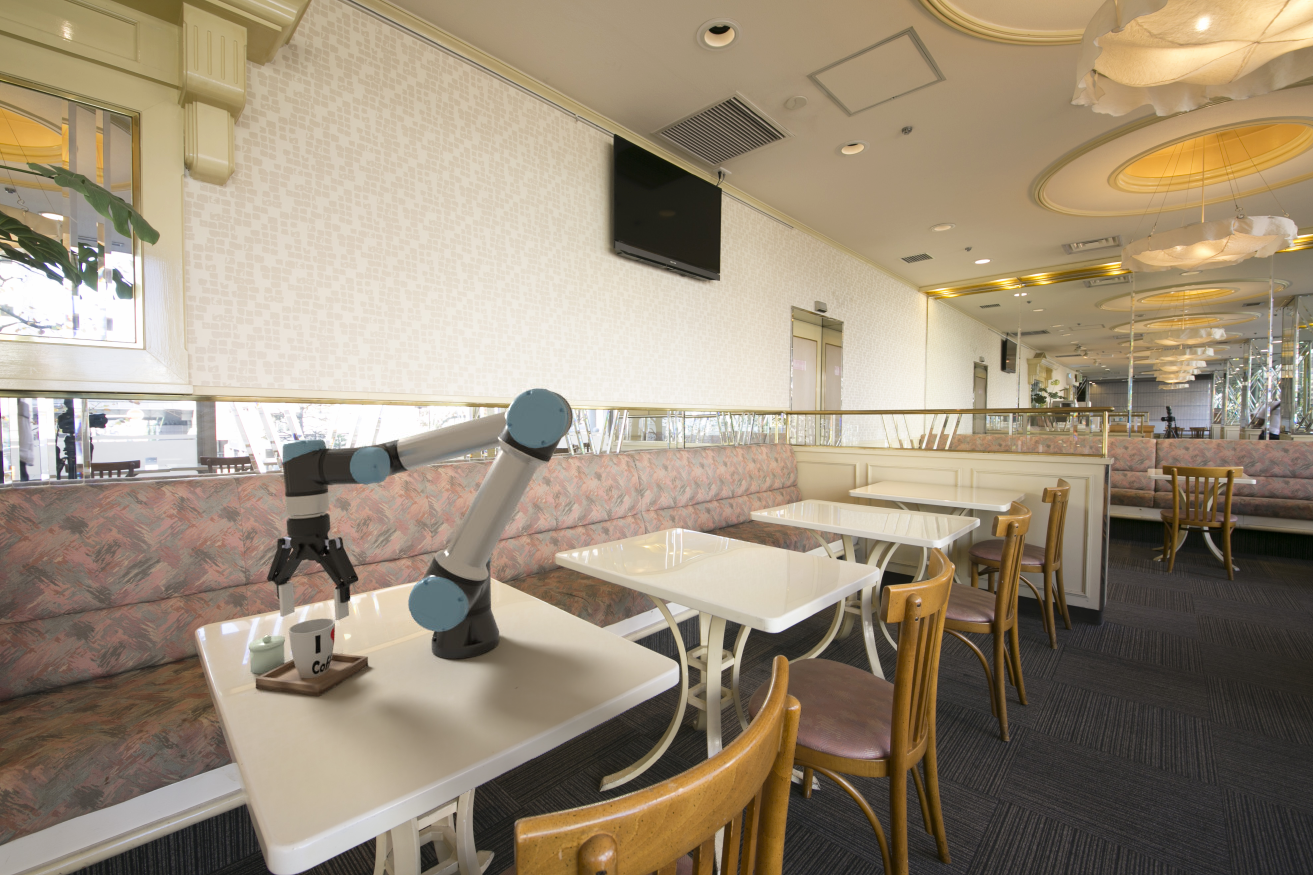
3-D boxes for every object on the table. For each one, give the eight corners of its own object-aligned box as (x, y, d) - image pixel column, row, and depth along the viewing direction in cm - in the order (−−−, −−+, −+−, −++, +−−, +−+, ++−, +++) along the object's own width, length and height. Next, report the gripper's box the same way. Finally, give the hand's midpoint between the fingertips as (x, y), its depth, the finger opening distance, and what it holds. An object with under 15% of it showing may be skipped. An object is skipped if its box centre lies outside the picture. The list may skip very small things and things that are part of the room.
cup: (314, 683, 109) (313, 634, 108) (280, 680, 110) (278, 631, 110) (345, 665, 117) (344, 619, 116) (313, 662, 118) (311, 616, 118)
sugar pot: (293, 661, 120) (291, 630, 120) (266, 675, 114) (265, 642, 114) (269, 658, 122) (268, 628, 121) (241, 672, 116) (240, 640, 115)
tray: (368, 665, 118) (367, 656, 118) (318, 696, 106) (318, 686, 105) (310, 659, 122) (310, 650, 121) (255, 687, 109) (255, 678, 109)
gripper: (373, 511, 113) (379, 612, 114) (275, 510, 118) (281, 606, 119) (345, 519, 105) (351, 626, 107) (241, 517, 111) (248, 619, 112)
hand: (314, 616), depth 113 cm, fingers open, 13 cm apart
